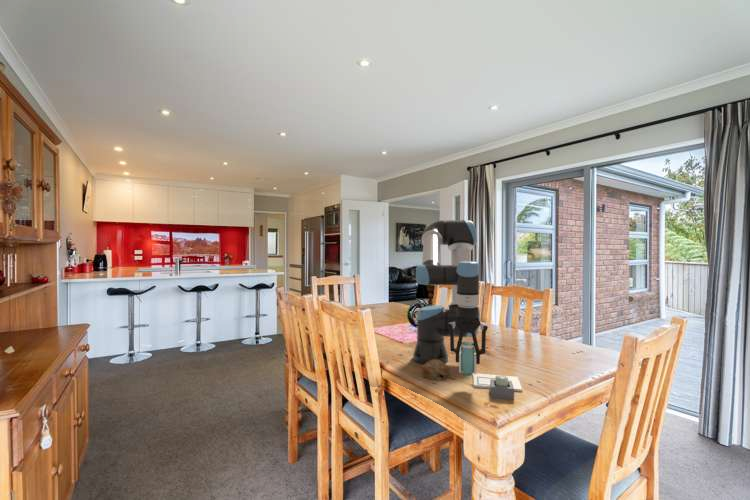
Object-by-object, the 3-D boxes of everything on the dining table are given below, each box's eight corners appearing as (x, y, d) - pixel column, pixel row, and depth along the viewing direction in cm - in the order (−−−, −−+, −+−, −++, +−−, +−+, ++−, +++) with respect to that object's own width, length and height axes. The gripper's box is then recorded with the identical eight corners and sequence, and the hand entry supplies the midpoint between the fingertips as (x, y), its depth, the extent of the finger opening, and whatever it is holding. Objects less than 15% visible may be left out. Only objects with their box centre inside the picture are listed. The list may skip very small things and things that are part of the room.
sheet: (473, 387, 124) (473, 384, 124) (473, 375, 136) (473, 372, 136) (522, 391, 120) (522, 389, 120) (517, 379, 131) (517, 376, 131)
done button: (495, 391, 116) (495, 379, 116) (495, 386, 120) (494, 374, 120) (508, 392, 115) (508, 380, 115) (507, 387, 119) (507, 376, 119)
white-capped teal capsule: (460, 375, 122) (460, 344, 121) (461, 371, 126) (461, 341, 126) (474, 377, 120) (474, 345, 120) (474, 372, 125) (474, 342, 124)
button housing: (491, 397, 115) (491, 386, 115) (490, 389, 122) (490, 379, 122) (514, 399, 114) (514, 388, 113) (511, 391, 120) (511, 381, 120)
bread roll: (428, 389, 131) (433, 373, 128) (415, 370, 139) (420, 354, 136) (450, 385, 135) (455, 369, 132) (436, 366, 143) (441, 351, 140)
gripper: (441, 306, 121) (441, 373, 122) (494, 309, 117) (494, 378, 117) (443, 302, 128) (443, 366, 129) (493, 304, 124) (493, 370, 125)
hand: (467, 371), depth 123 cm, fingers closed on white-capped teal capsule, 4 cm apart
